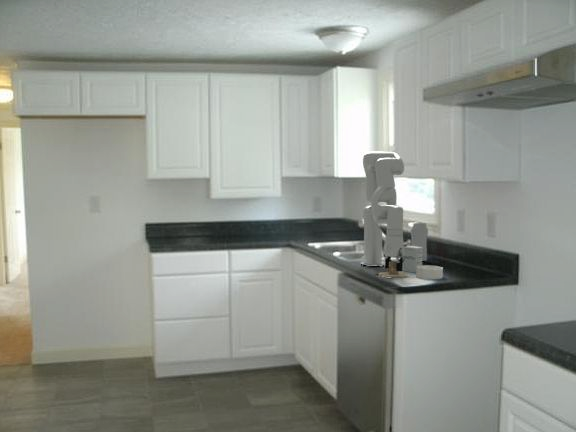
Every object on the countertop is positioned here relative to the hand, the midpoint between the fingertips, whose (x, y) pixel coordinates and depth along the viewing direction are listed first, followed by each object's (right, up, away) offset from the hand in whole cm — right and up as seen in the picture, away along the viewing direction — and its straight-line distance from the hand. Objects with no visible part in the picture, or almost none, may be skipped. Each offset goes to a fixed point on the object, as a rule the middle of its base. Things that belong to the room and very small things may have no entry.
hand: (393, 269), depth 284 cm
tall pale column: (+23, 0, +51) cm, 56 cm away
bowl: (+16, -4, -2) cm, 17 cm away
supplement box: (+12, -3, +16) cm, 20 cm away
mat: (0, -4, 0) cm, 4 cm away
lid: (0, -3, 0) cm, 3 cm away
